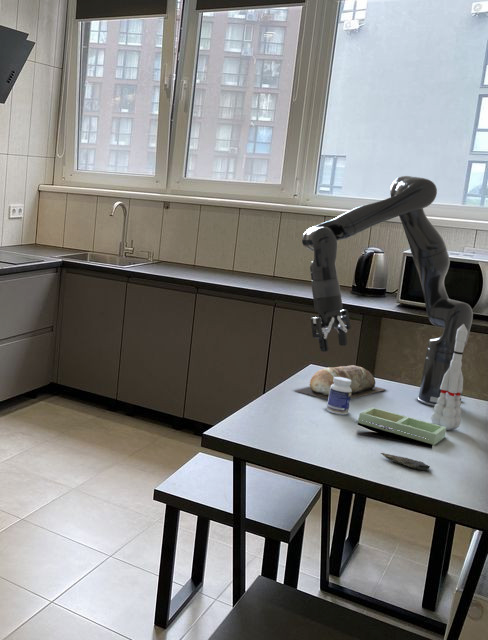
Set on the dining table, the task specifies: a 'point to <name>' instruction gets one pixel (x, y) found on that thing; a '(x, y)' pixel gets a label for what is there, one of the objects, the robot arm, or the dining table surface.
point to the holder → (403, 425)
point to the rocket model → (451, 388)
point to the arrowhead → (407, 462)
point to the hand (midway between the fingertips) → (334, 348)
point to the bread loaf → (359, 377)
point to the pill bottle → (339, 396)
